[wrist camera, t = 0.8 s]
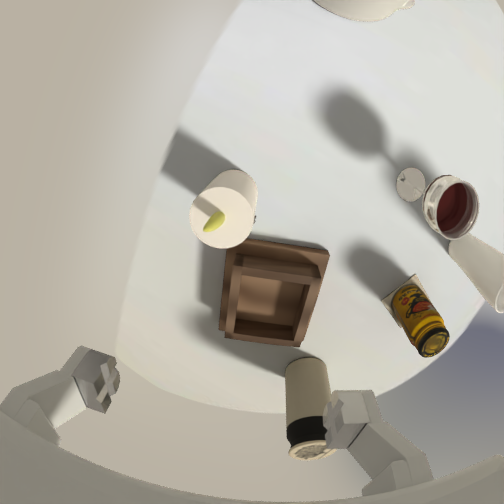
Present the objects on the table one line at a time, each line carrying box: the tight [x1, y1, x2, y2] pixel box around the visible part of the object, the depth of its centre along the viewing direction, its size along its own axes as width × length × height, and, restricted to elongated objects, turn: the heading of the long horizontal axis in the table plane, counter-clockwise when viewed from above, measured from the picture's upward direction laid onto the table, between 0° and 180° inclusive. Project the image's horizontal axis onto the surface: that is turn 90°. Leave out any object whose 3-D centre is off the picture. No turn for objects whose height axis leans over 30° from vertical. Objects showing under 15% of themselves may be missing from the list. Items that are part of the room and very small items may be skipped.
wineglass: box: [396, 167, 479, 240], centre depth 29 cm, size 7×7×12 cm
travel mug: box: [285, 358, 337, 460], centre depth 42 cm, size 8×8×18 cm
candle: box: [189, 170, 258, 248], centre depth 30 cm, size 6×6×15 cm
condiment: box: [382, 275, 449, 357], centre depth 37 cm, size 7×8×12 cm
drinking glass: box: [448, 233, 504, 313], centre depth 31 cm, size 7×7×15 cm
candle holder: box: [219, 238, 330, 347], centre depth 41 cm, size 16×14×5 cm
